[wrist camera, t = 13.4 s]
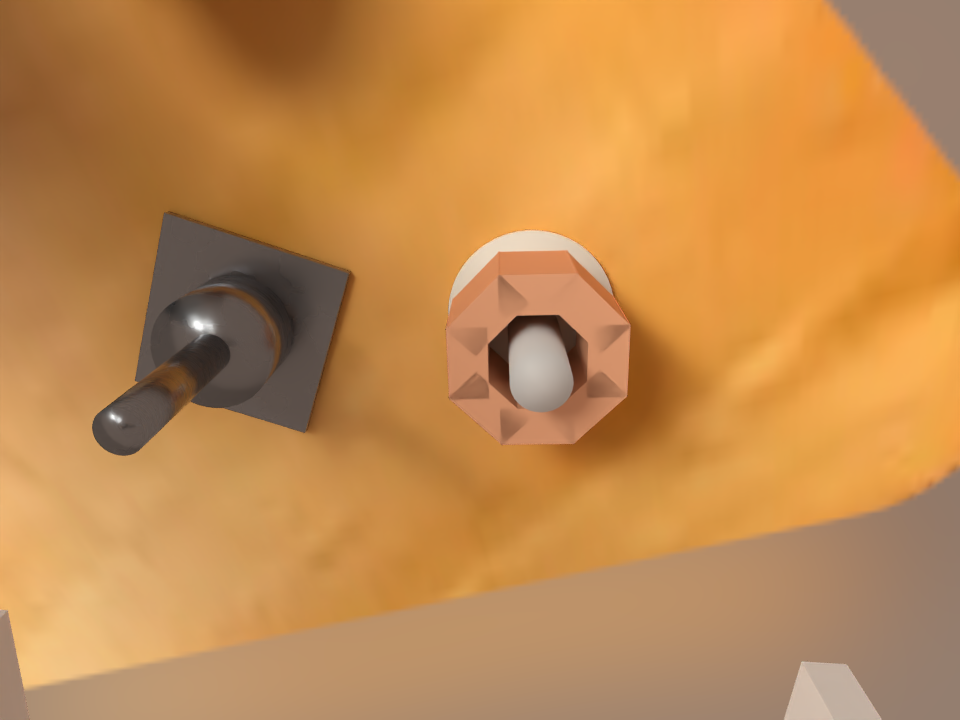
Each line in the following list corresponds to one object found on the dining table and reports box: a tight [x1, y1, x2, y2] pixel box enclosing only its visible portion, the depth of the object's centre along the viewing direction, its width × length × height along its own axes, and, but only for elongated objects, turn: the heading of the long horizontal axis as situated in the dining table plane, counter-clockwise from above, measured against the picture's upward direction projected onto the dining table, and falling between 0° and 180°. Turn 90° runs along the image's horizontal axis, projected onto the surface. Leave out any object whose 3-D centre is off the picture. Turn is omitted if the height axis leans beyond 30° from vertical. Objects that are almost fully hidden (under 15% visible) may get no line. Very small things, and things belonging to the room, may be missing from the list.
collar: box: [445, 250, 631, 445], centre depth 33 cm, size 8×8×5 cm
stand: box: [92, 211, 350, 456], centre depth 33 cm, size 10×10×14 cm
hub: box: [448, 230, 613, 412], centre depth 34 cm, size 9×9×10 cm
